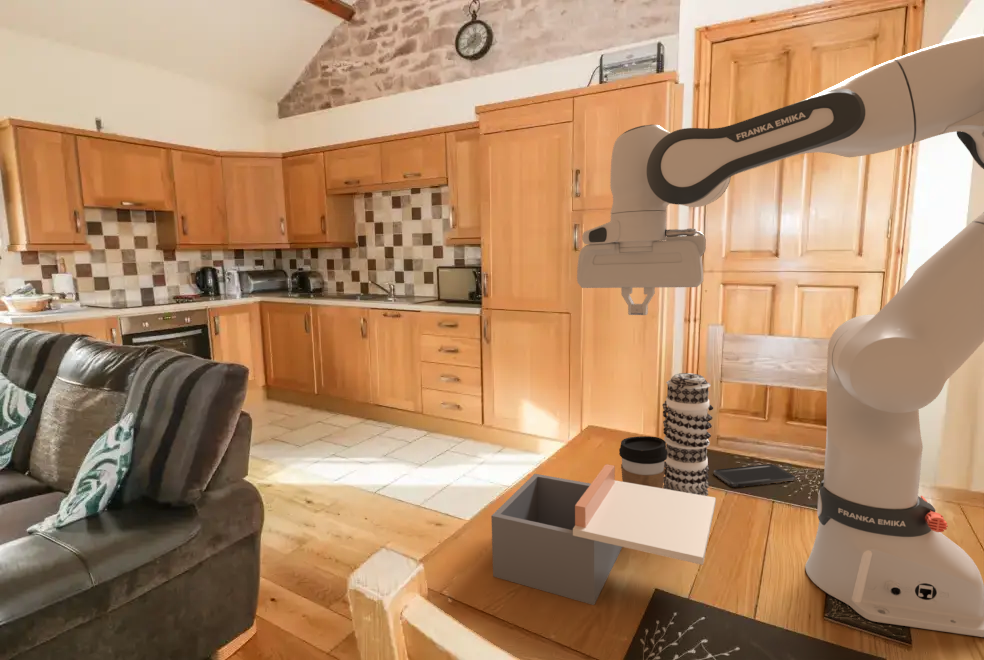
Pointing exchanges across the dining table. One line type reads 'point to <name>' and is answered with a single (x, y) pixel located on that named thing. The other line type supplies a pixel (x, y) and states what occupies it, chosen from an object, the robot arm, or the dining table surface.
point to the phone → (753, 475)
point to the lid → (645, 518)
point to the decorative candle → (687, 434)
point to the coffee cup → (643, 460)
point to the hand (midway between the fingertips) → (637, 314)
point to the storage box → (549, 541)
